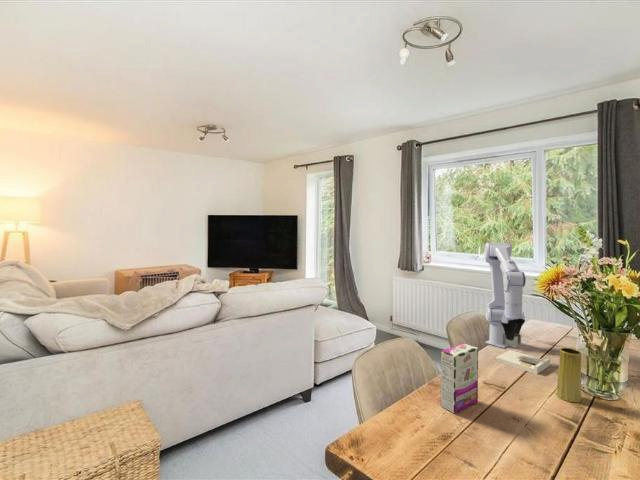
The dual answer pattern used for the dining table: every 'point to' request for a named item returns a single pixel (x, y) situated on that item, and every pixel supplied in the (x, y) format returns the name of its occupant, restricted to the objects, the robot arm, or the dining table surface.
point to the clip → (514, 342)
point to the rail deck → (517, 361)
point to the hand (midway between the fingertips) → (512, 338)
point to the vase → (569, 375)
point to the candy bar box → (459, 377)
